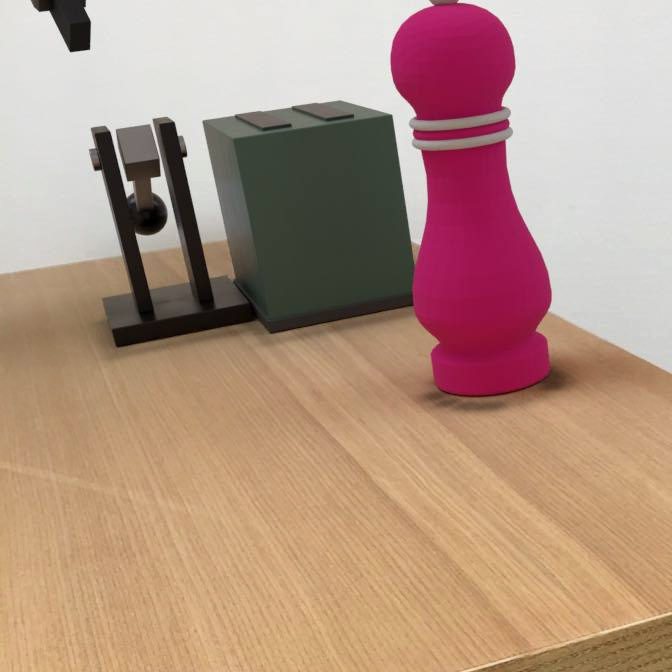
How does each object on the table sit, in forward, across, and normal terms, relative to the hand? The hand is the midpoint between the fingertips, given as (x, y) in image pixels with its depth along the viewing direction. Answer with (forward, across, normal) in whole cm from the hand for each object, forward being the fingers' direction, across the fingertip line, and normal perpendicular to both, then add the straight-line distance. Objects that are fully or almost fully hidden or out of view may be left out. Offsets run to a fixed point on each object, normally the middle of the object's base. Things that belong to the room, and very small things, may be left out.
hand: (80, 36), depth 89 cm
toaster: (+25, +8, 0) cm, 26 cm away
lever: (+15, -1, 0) cm, 15 cm away
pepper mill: (+43, +5, -18) cm, 47 cm away
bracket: (+22, -2, +3) cm, 23 cm away
